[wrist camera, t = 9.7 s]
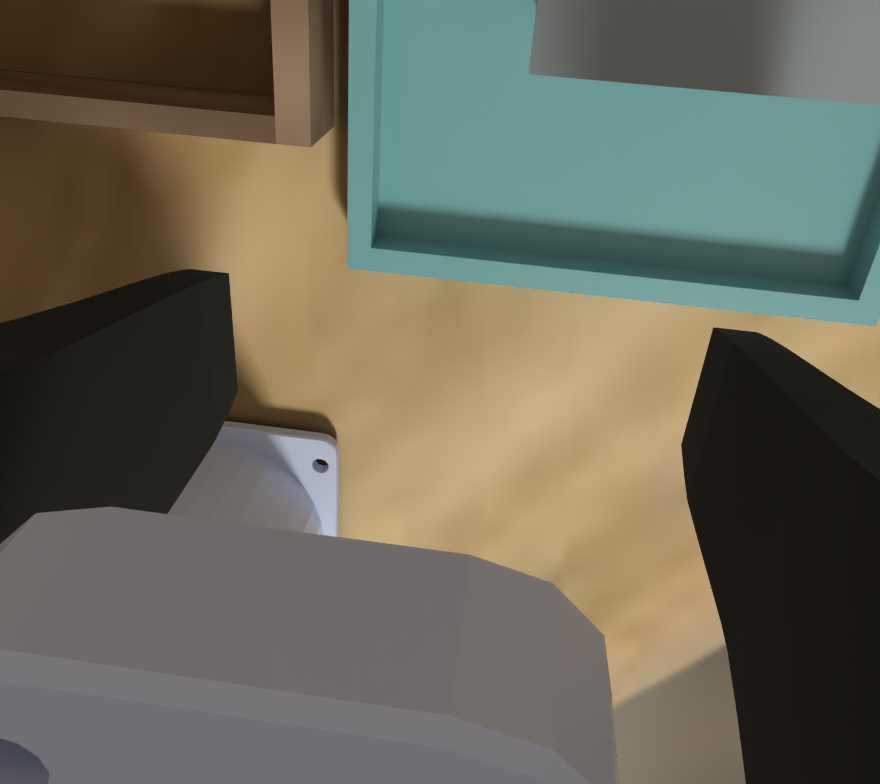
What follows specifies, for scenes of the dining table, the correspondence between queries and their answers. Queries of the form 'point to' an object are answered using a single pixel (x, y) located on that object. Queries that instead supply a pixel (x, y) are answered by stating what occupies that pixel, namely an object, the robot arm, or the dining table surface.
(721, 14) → the slate gray block
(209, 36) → the dining table surface
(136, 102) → the rack
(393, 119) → the tray
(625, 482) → the dining table surface
